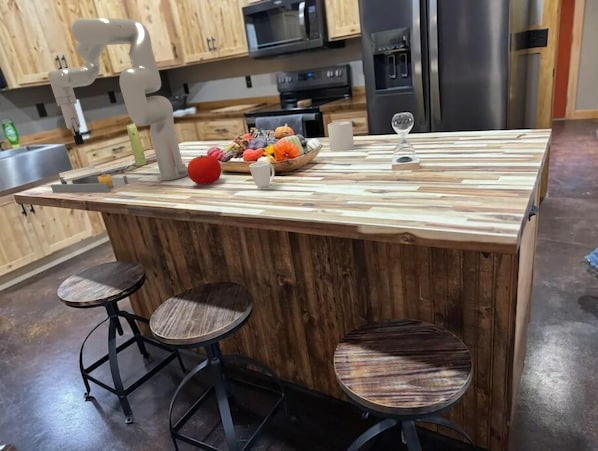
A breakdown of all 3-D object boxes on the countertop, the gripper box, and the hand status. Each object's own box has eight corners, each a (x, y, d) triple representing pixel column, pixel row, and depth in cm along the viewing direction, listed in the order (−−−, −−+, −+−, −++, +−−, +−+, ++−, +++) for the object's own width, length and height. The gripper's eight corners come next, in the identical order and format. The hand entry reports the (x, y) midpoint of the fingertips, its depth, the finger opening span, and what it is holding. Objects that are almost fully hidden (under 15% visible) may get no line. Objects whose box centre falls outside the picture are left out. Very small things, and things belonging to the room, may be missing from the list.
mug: (325, 147, 187) (322, 123, 183) (346, 143, 189) (344, 119, 185) (334, 152, 175) (331, 126, 171) (357, 148, 177) (355, 122, 173)
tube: (148, 164, 203) (137, 123, 196) (137, 166, 200) (126, 125, 193) (145, 162, 207) (134, 122, 200) (135, 165, 205) (123, 124, 198)
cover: (97, 177, 187) (93, 165, 185) (103, 180, 179) (99, 168, 177) (60, 186, 179) (56, 174, 177) (65, 190, 171) (61, 177, 169)
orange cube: (116, 185, 168) (112, 174, 166) (107, 189, 164) (104, 177, 162) (107, 185, 169) (103, 174, 168) (98, 189, 165) (94, 177, 164)
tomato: (228, 178, 158) (222, 150, 154) (213, 188, 147) (207, 158, 143) (201, 179, 161) (195, 152, 157) (185, 189, 150) (178, 160, 147)
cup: (248, 190, 139) (244, 166, 136) (267, 181, 146) (263, 158, 144) (265, 191, 135) (261, 167, 132) (283, 182, 143) (279, 159, 140)
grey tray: (143, 177, 176) (140, 169, 175) (108, 193, 160) (105, 184, 159) (90, 179, 188) (88, 171, 187) (53, 193, 171) (50, 184, 170)
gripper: (55, 102, 182) (69, 144, 189) (58, 103, 170) (72, 147, 177) (74, 99, 186) (87, 140, 193) (78, 100, 174) (91, 144, 181)
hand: (80, 144), depth 185 cm, fingers closed
